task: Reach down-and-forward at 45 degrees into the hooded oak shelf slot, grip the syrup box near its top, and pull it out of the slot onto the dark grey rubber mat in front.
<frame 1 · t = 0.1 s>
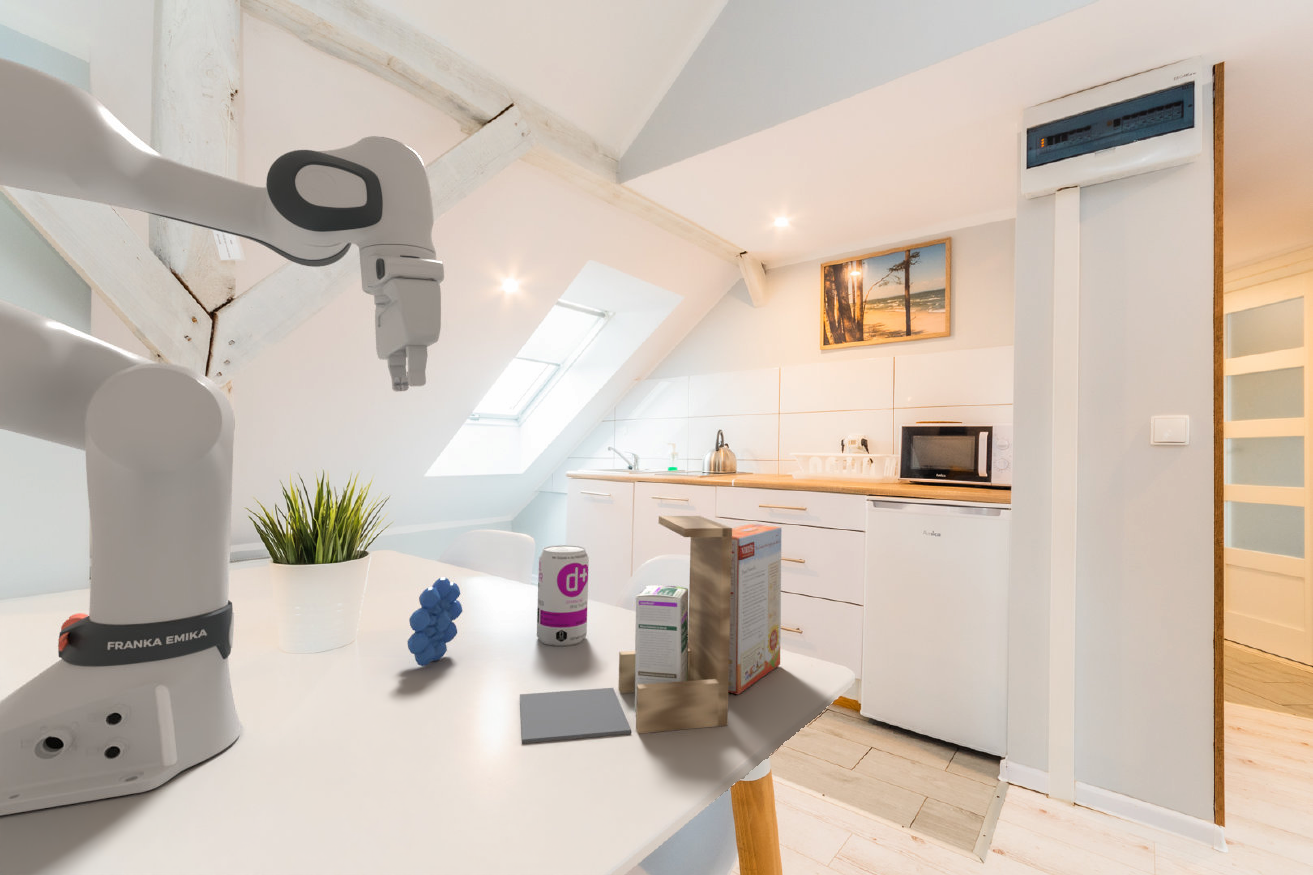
hand: (408, 388, 75), 39 cm above the table, tool pointing down, fingers open, 8 cm apart
grapes: (429, 661, 88), on the table
shelf slot: (660, 706, 74), on the table
cracker box: (742, 676, 86), on the table
mat: (572, 714, 72), on the table
syrup box: (660, 708, 74), on the table
supplement can: (561, 640, 100), on the table
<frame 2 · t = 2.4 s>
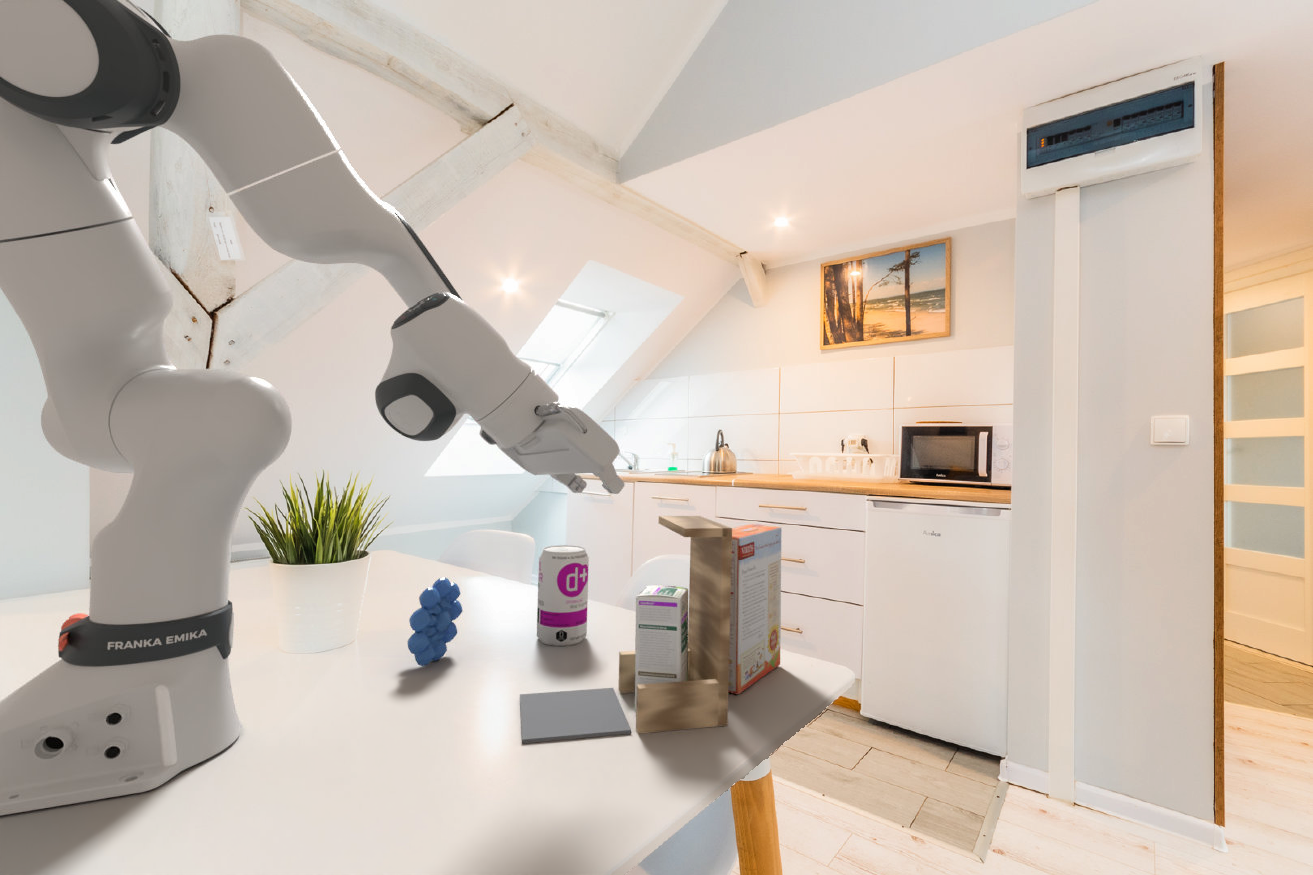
hand: (599, 489, 75), 27 cm above the table, tool tilted 50°, fingers open, 8 cm apart
nothing on the table moved.
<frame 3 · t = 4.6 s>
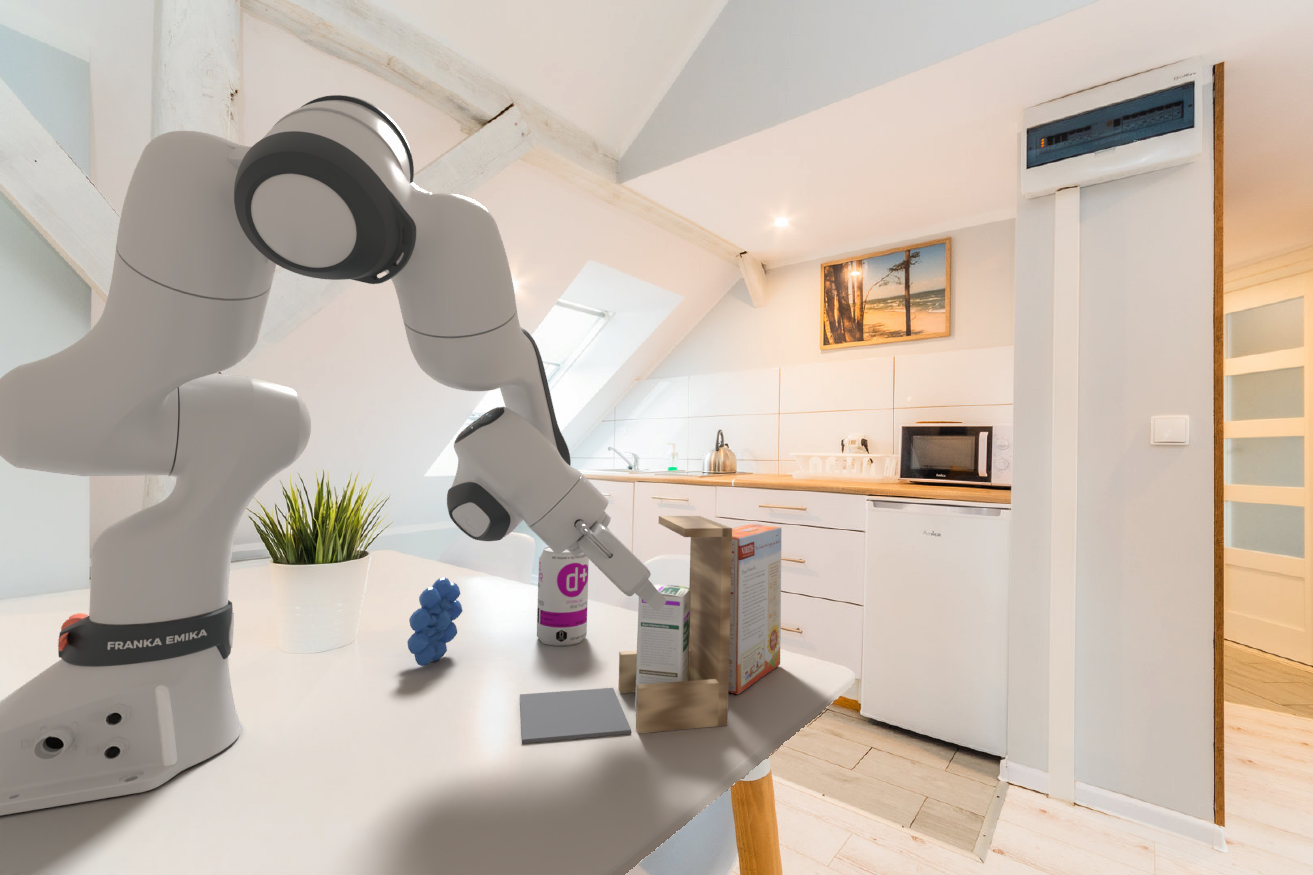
hand: (651, 595, 74), 14 cm above the table, tool tilted 45°, fingers open, 8 cm apart
syrup box: (660, 708, 74), on the table, touching gripper
everything else where it was.
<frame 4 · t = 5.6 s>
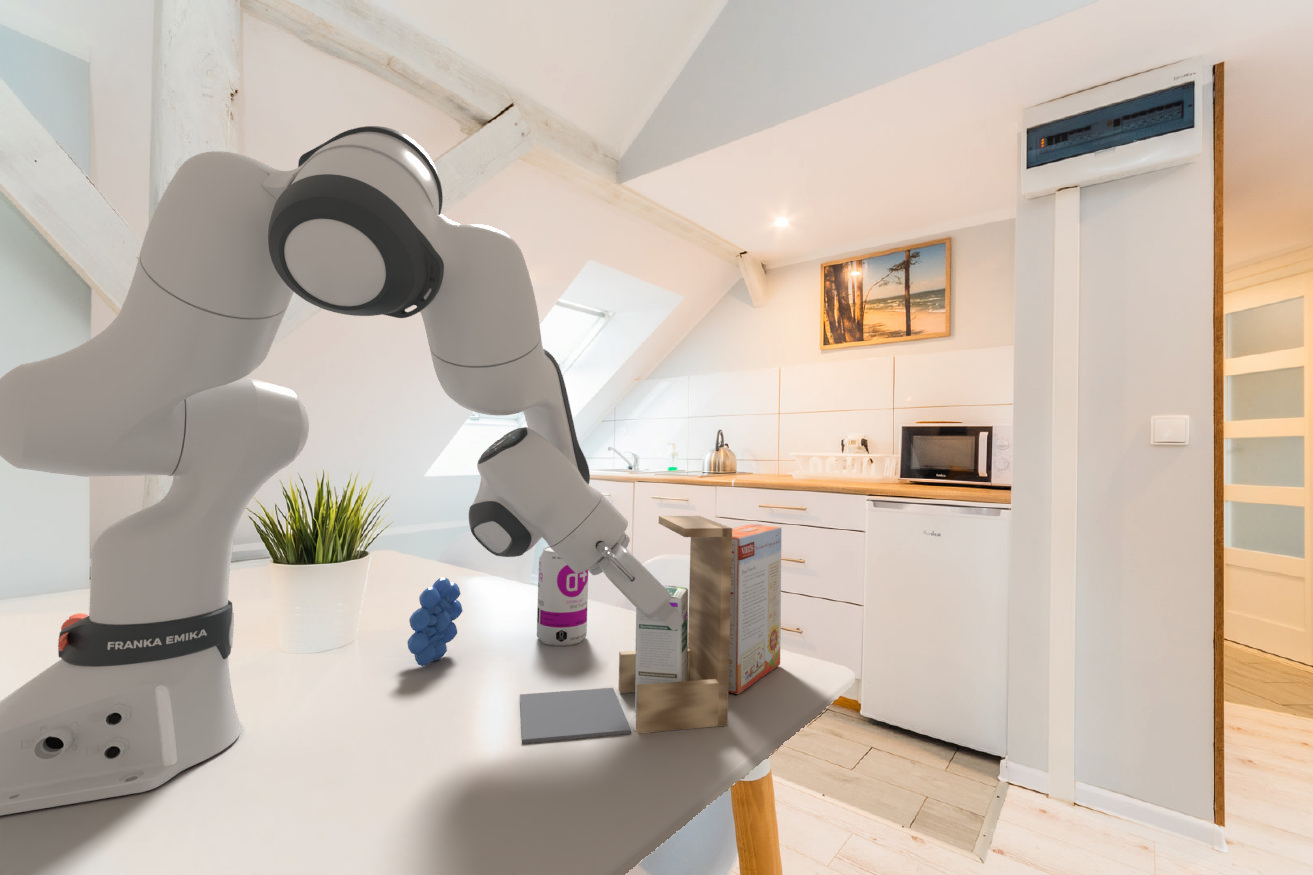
hand: (668, 614, 75), 11 cm above the table, tool tilted 45°, fingers closed on syrup box, 7 cm apart
syrup box: (660, 708, 74), on the table, touching gripper
everything else where it was.
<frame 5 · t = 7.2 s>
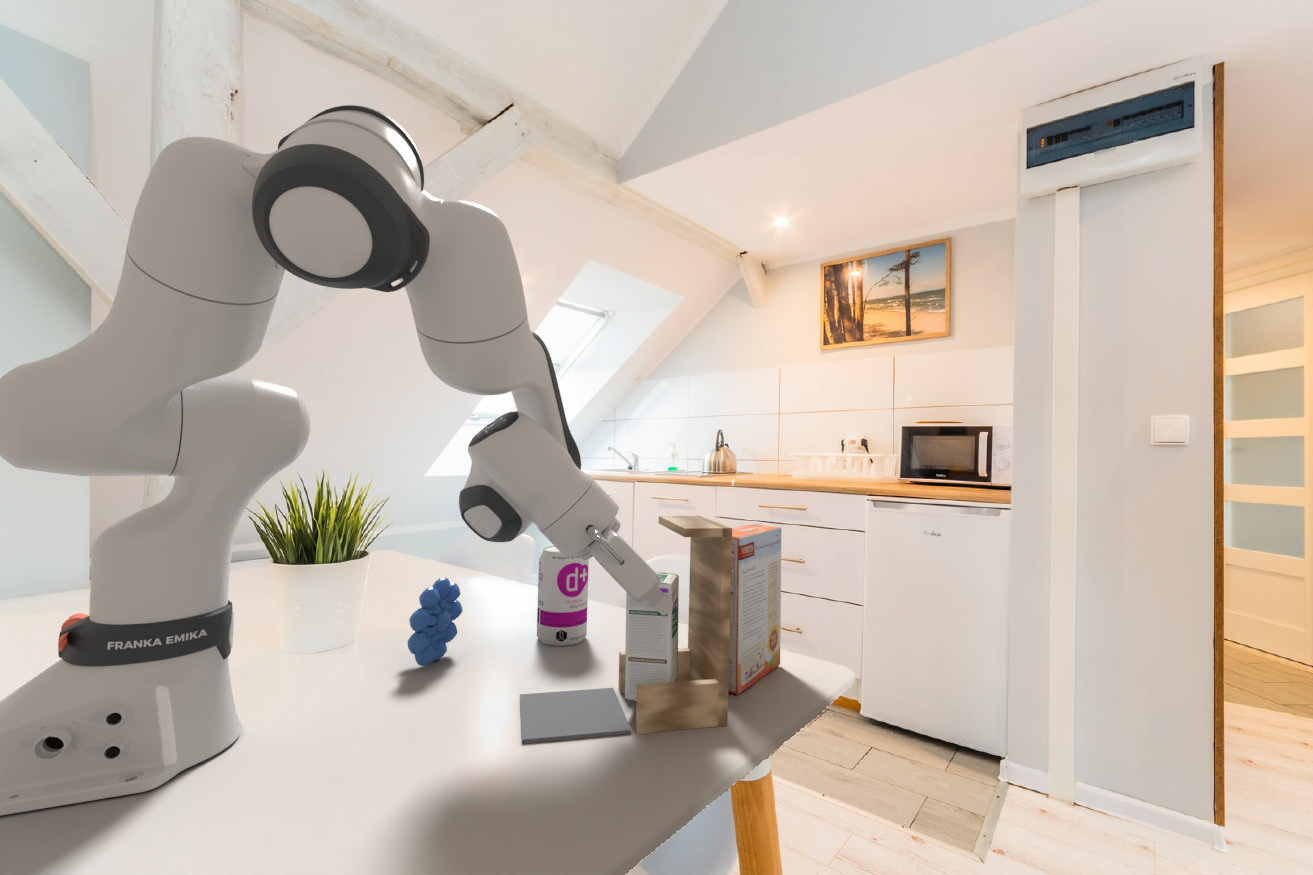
hand: (658, 600, 75), 13 cm above the table, tool tilted 45°, fingers closed on syrup box, 7 cm apart
syrup box: (650, 694, 74), point 2 cm above the table, touching gripper
everything else where it was.
when the fingers open (13 cm above the table, at t = 8.6 s): syrup box drops 1 cm, resting on mat.
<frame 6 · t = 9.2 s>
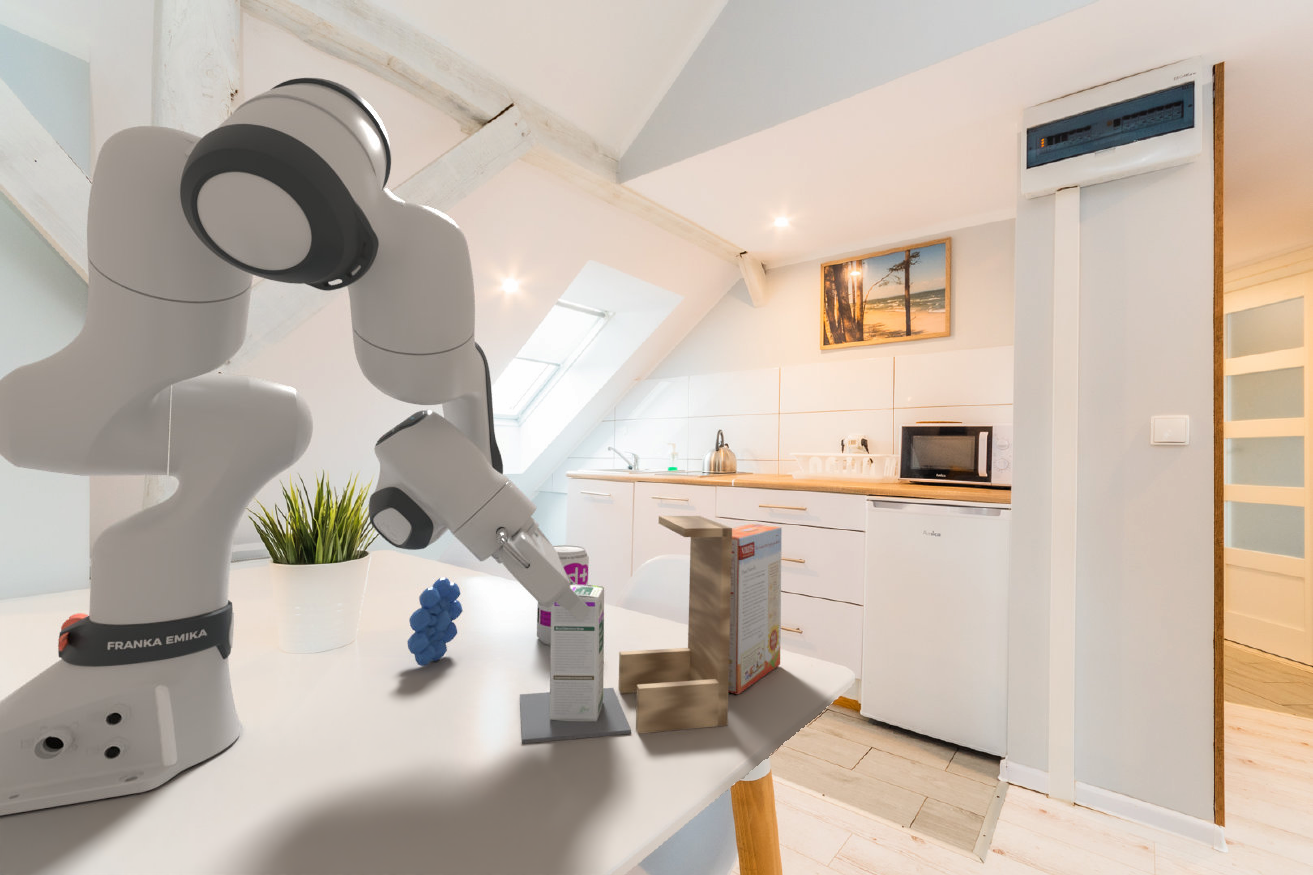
hand: (580, 604, 72), 13 cm above the table, tool tilted 45°, fingers open, 7 cm apart
syrup box: (576, 712, 72), resting on mat, touching gripper
everything else where it was.
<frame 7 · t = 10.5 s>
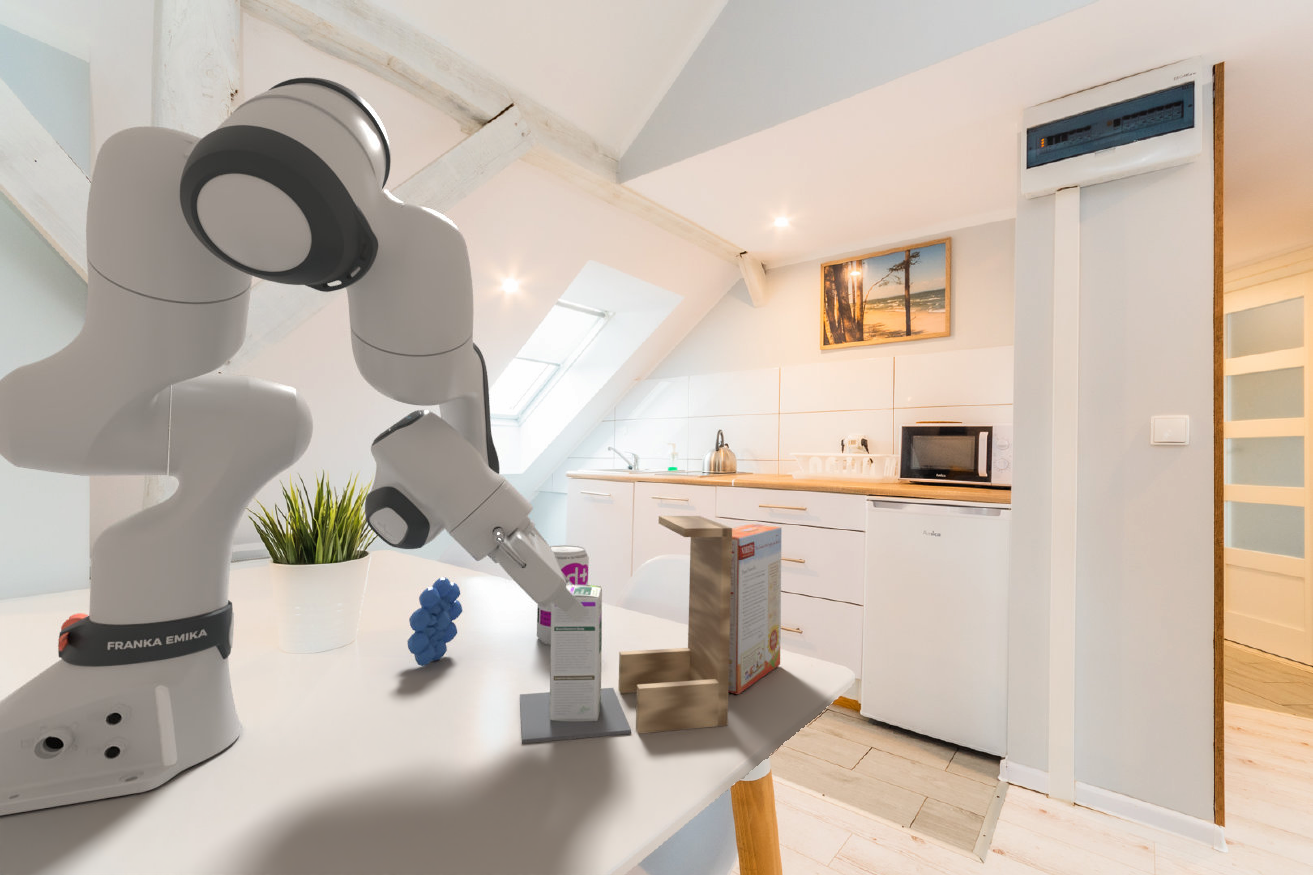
hand: (576, 604, 72), 13 cm above the table, tool tilted 45°, fingers open, 8 cm apart
syrup box: (575, 712, 72), resting on mat
everything else where it was.
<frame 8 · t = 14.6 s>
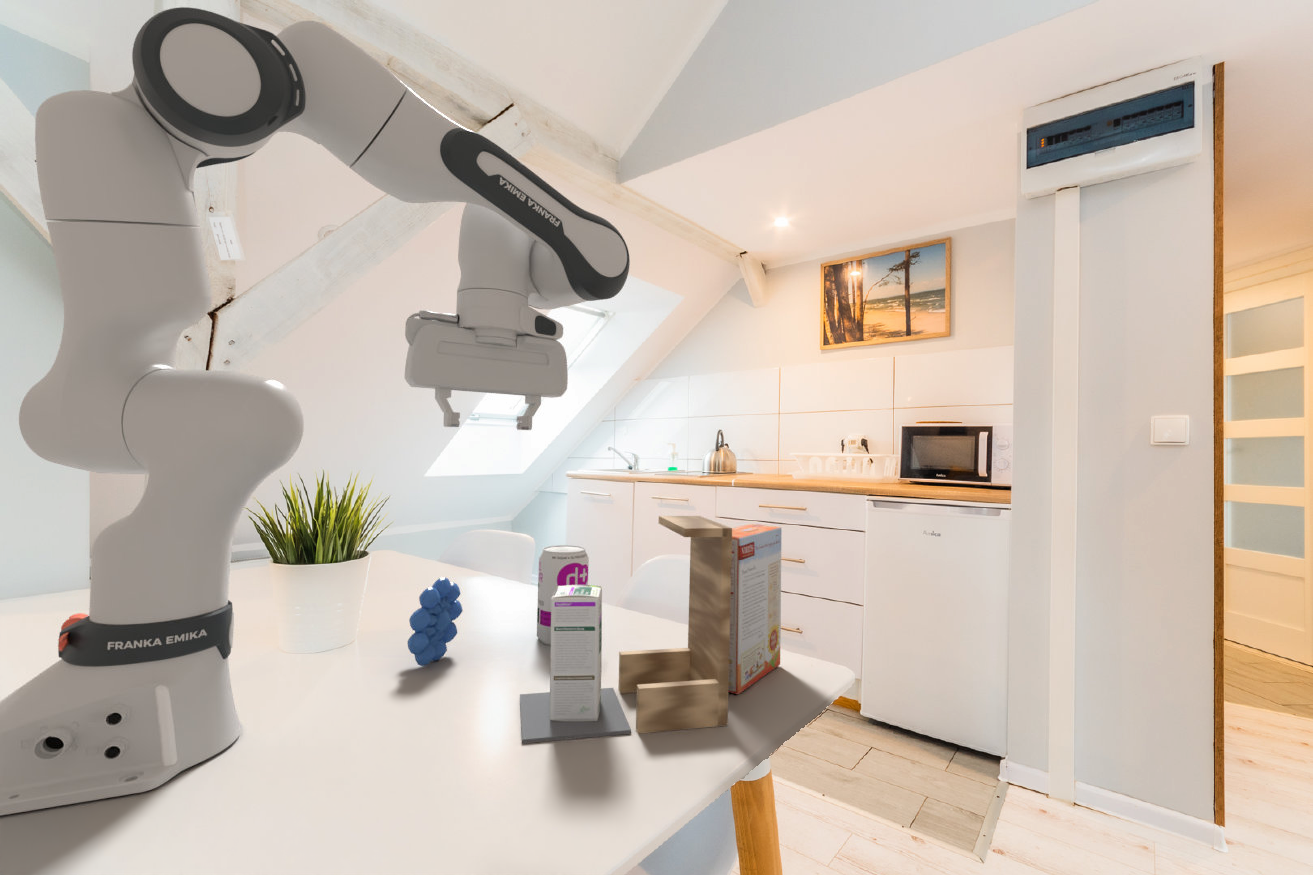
hand: (489, 428, 76), 34 cm above the table, tool pointing down, fingers open, 8 cm apart
nothing on the table moved.
at the end: syrup box inside the target area (0.3 cm from its centre), resting on mat; syrup box tilted 0°; syrup box moved 10.7 cm from its start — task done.
